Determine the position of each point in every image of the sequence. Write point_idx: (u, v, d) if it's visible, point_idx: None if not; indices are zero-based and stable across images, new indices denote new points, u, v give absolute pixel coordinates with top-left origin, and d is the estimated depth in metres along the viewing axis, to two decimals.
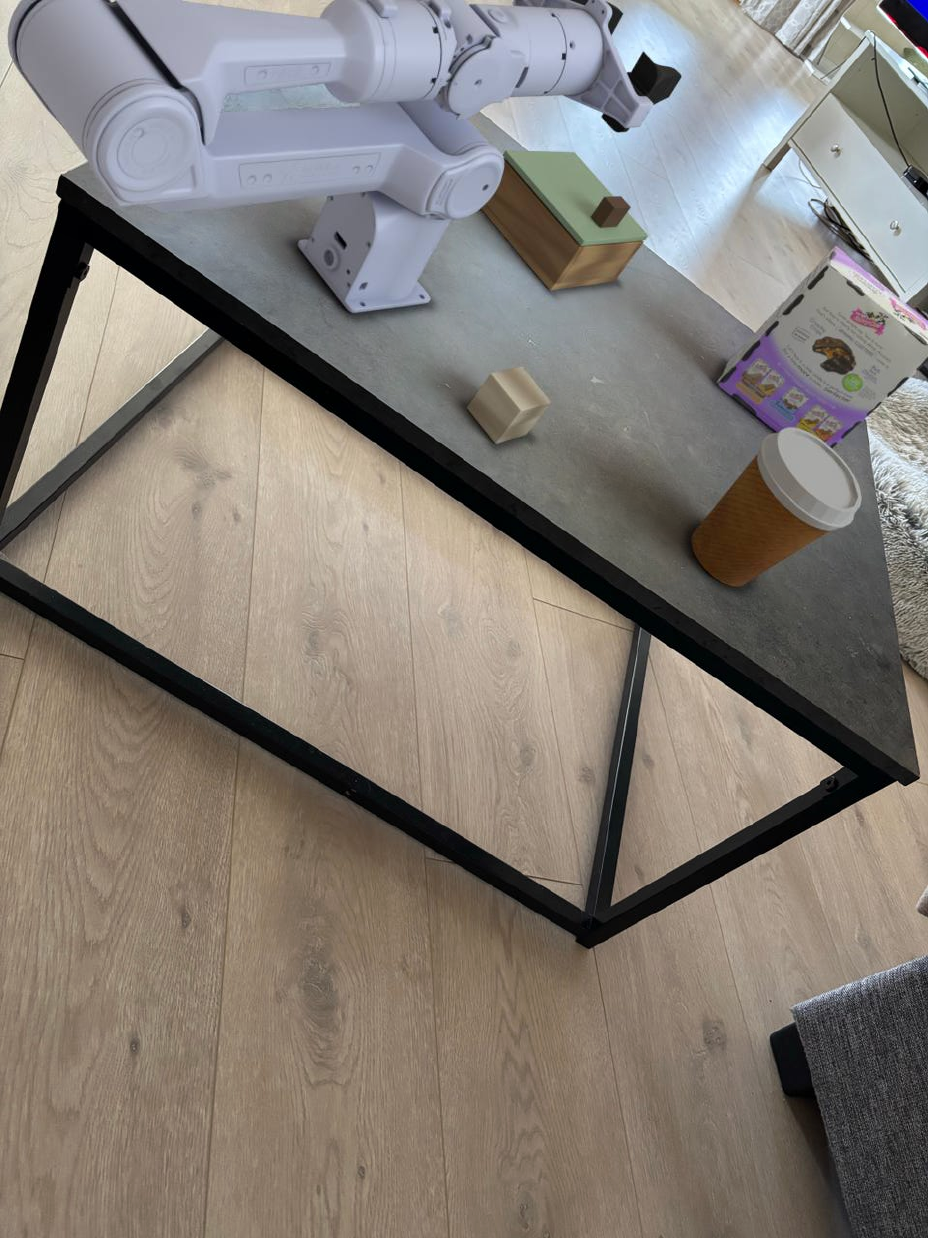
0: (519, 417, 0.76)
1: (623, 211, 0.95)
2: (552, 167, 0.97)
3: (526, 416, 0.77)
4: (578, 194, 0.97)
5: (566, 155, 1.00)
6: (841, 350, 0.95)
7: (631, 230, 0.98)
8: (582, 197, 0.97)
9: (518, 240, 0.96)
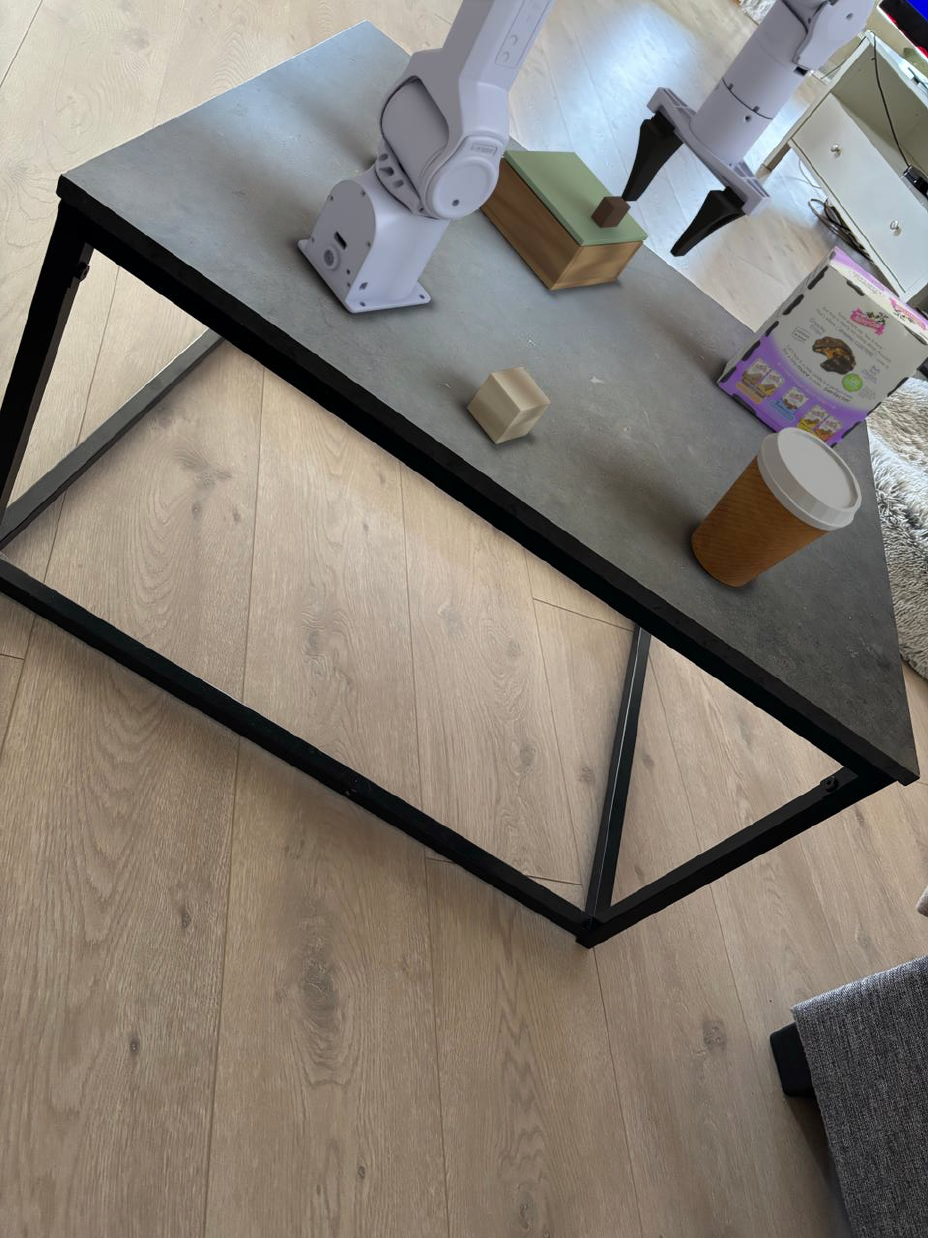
0: (519, 417, 0.76)
1: (623, 211, 0.95)
2: (552, 167, 0.97)
3: (526, 416, 0.77)
4: (578, 194, 0.97)
5: (566, 155, 1.00)
6: (841, 350, 0.95)
7: (631, 230, 0.98)
8: (582, 197, 0.97)
9: (518, 240, 0.96)
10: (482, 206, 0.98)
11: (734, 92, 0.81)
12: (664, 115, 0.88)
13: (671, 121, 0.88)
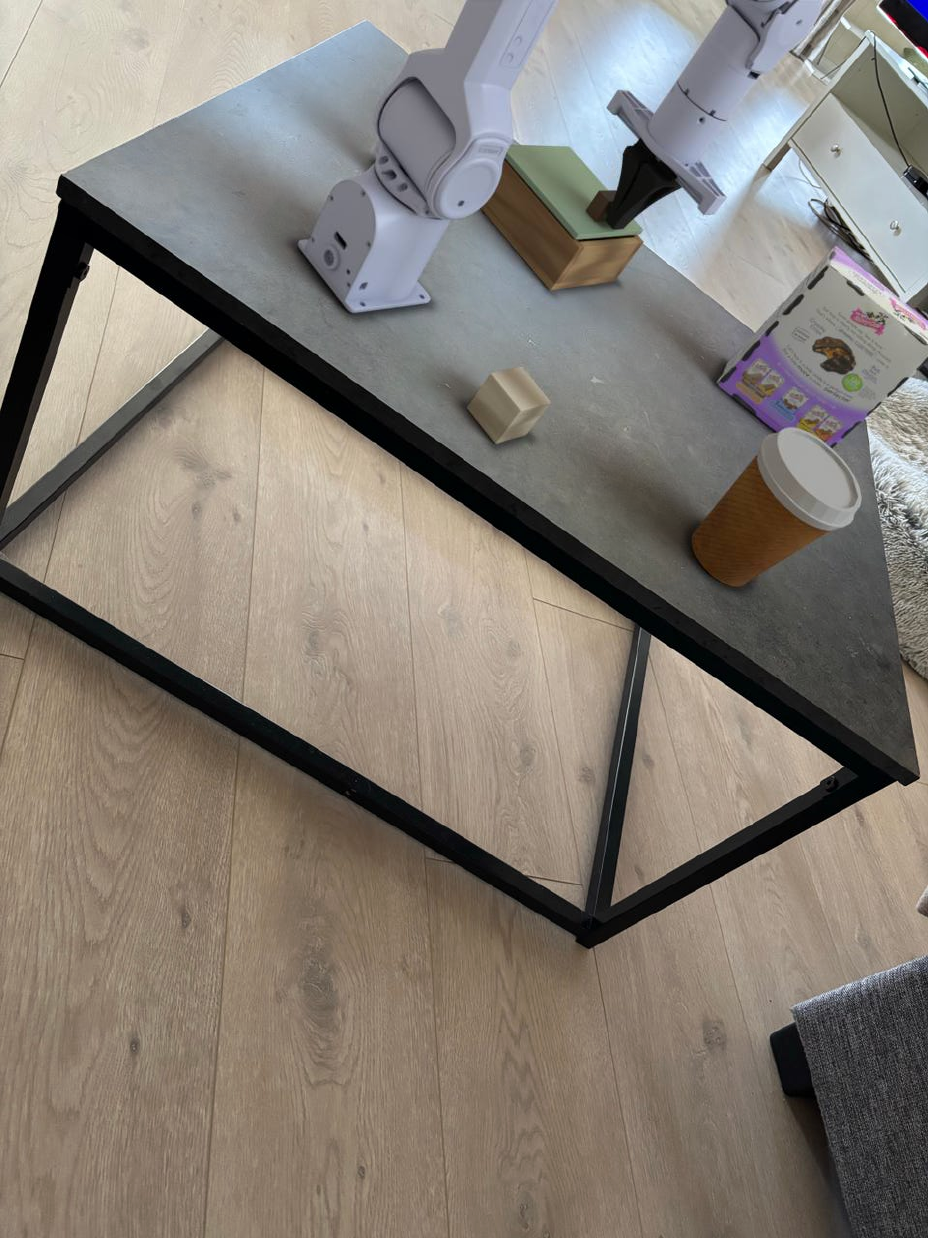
0: (519, 417, 0.76)
1: None
2: (547, 161, 0.97)
3: (526, 416, 0.77)
4: (573, 188, 0.97)
5: (561, 149, 1.01)
6: (841, 350, 0.95)
7: None
8: (576, 191, 0.97)
9: (518, 240, 0.96)
10: (482, 206, 0.98)
11: (691, 97, 0.84)
12: None
13: (630, 122, 0.91)
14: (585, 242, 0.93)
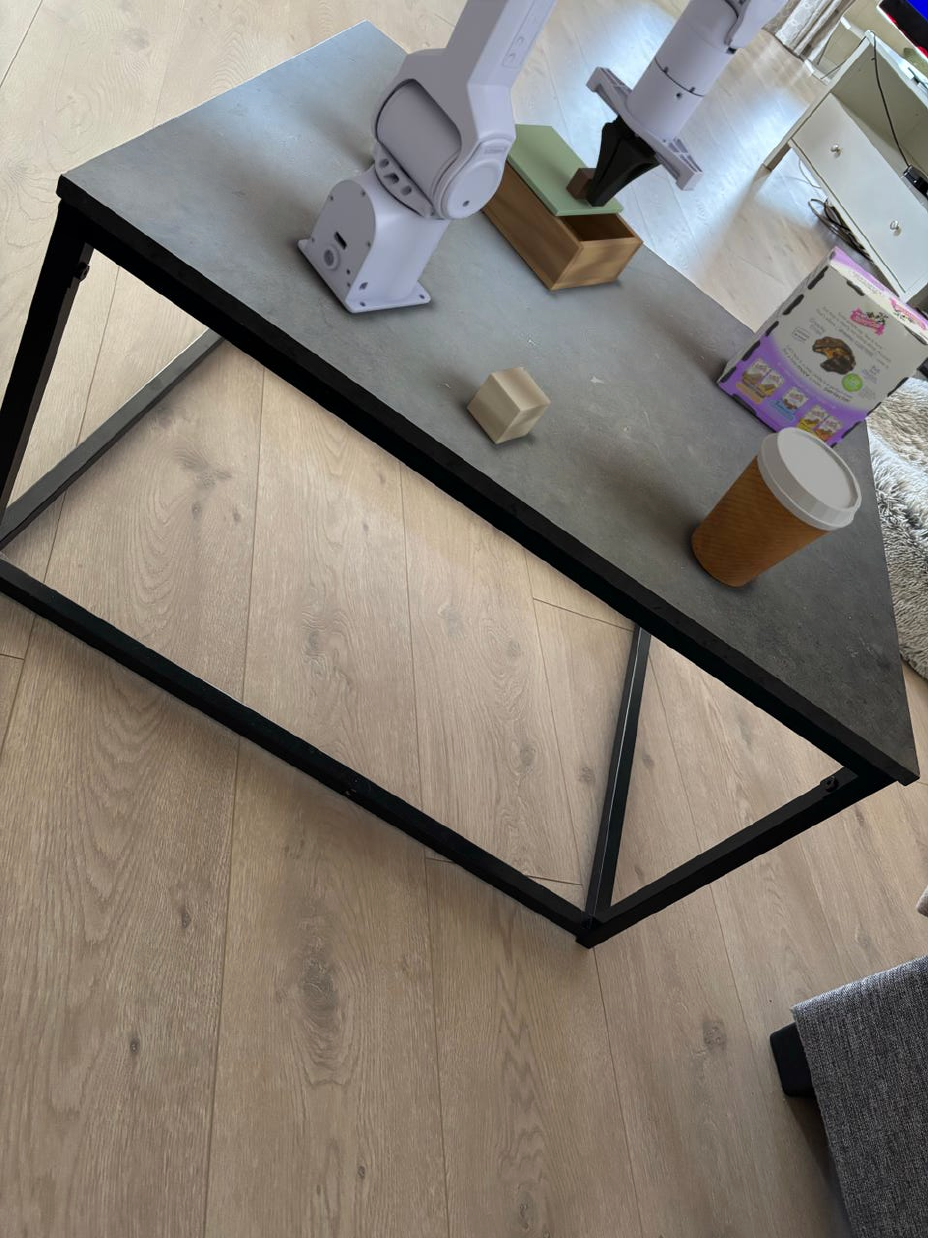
0: (519, 417, 0.76)
1: None
2: (528, 140, 0.98)
3: (526, 416, 0.77)
4: (554, 166, 0.97)
5: (543, 129, 1.01)
6: (841, 350, 0.95)
7: None
8: (557, 169, 0.97)
9: (518, 240, 0.96)
10: None
11: (670, 75, 0.84)
12: None
13: (609, 99, 0.91)
14: (585, 242, 0.93)
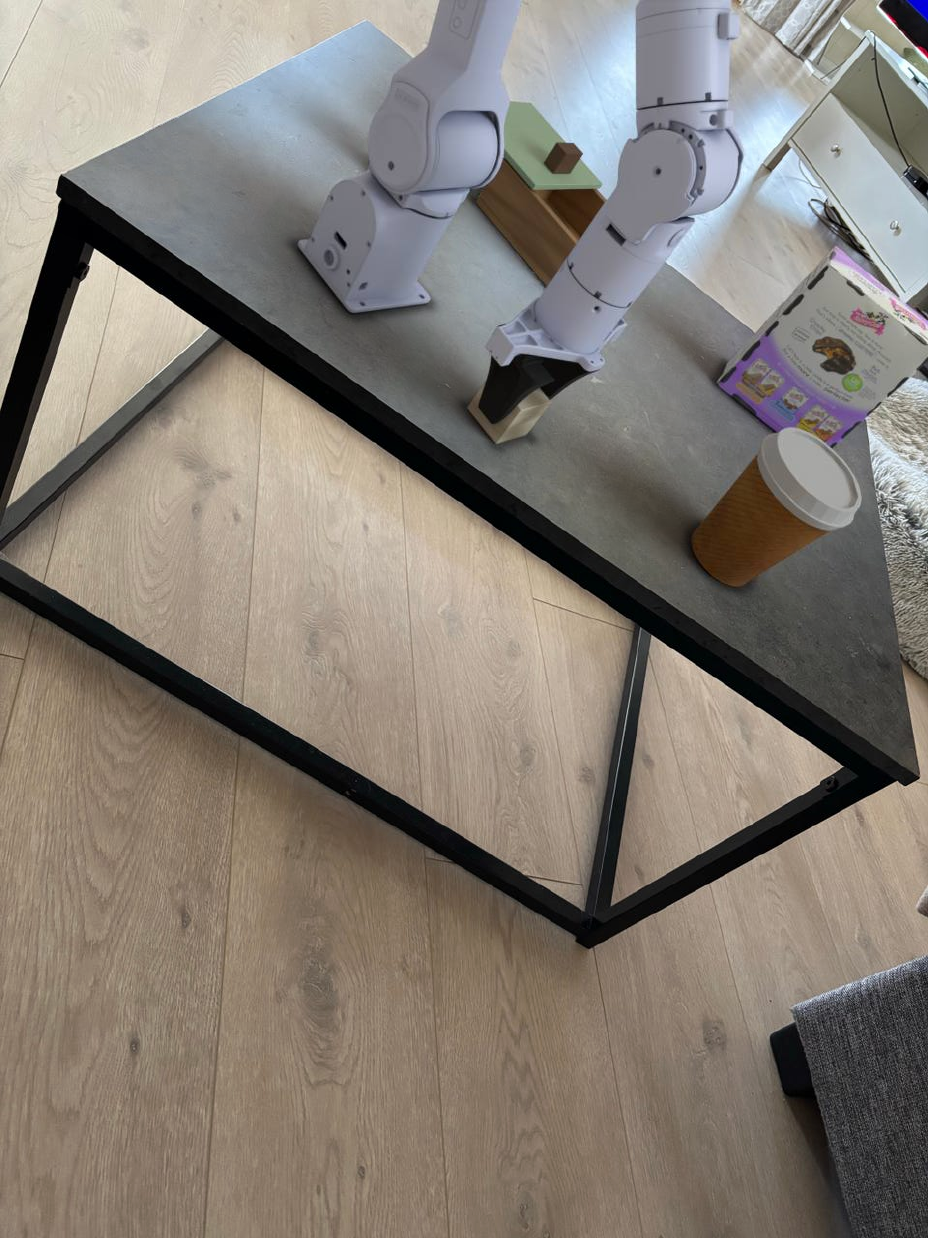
0: (519, 417, 0.76)
1: (575, 157, 0.96)
2: (507, 115, 0.99)
3: (526, 416, 0.77)
4: (532, 142, 0.98)
5: (522, 105, 1.02)
6: (841, 350, 0.95)
7: (585, 178, 1.00)
8: (536, 144, 0.98)
9: (518, 240, 0.96)
10: (482, 206, 0.98)
11: None
12: None
13: None
14: None
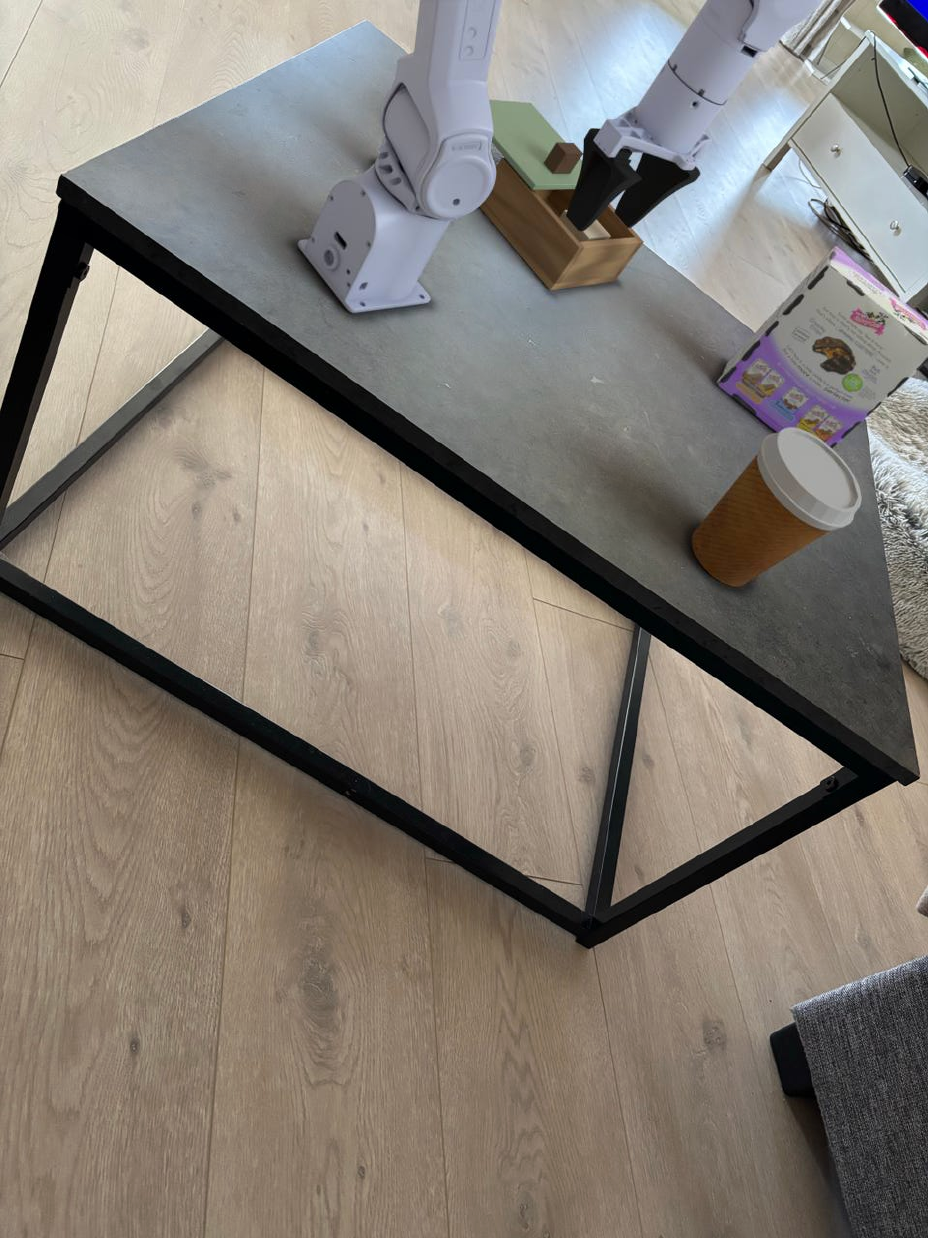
0: None
1: (575, 157, 0.96)
2: (507, 115, 0.99)
3: None
4: (532, 142, 0.98)
5: (522, 105, 1.02)
6: (841, 350, 0.95)
7: None
8: (536, 144, 0.98)
9: (518, 240, 0.96)
10: (482, 206, 0.98)
11: (678, 73, 0.75)
12: None
13: None
14: (585, 242, 0.93)
